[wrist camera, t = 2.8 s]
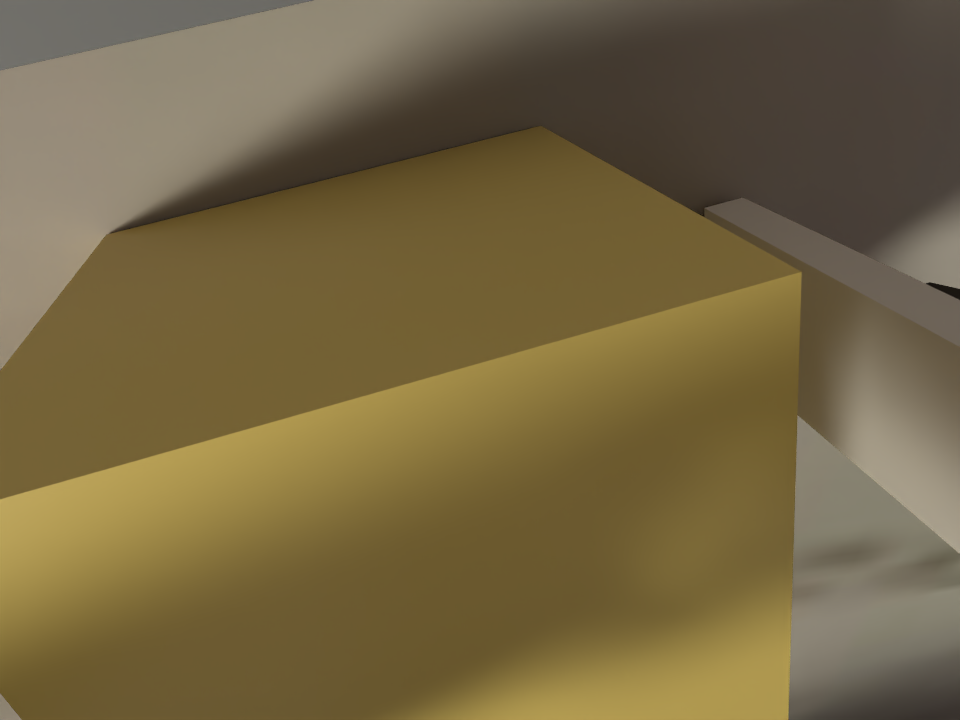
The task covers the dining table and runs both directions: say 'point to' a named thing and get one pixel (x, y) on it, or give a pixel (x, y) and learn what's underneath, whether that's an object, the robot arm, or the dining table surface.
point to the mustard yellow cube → (408, 457)
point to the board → (104, 23)
